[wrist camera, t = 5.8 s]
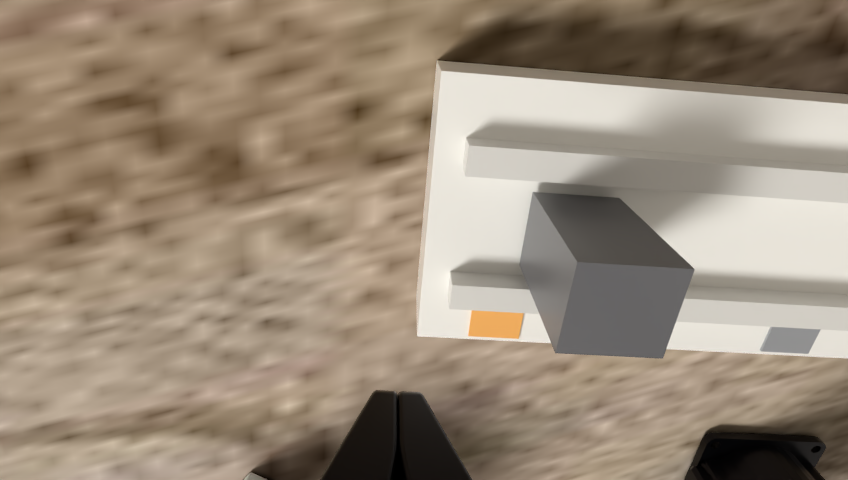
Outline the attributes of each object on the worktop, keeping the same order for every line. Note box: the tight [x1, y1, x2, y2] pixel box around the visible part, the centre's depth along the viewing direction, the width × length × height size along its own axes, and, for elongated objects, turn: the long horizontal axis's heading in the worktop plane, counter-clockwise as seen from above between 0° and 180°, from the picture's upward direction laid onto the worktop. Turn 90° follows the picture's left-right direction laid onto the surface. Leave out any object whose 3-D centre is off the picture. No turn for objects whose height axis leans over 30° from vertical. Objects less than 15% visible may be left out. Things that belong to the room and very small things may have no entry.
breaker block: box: [416, 60, 848, 358], centre depth 19 cm, size 18×10×4 cm, turn 85°
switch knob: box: [519, 192, 695, 358], centre depth 15 cm, size 3×3×5 cm
